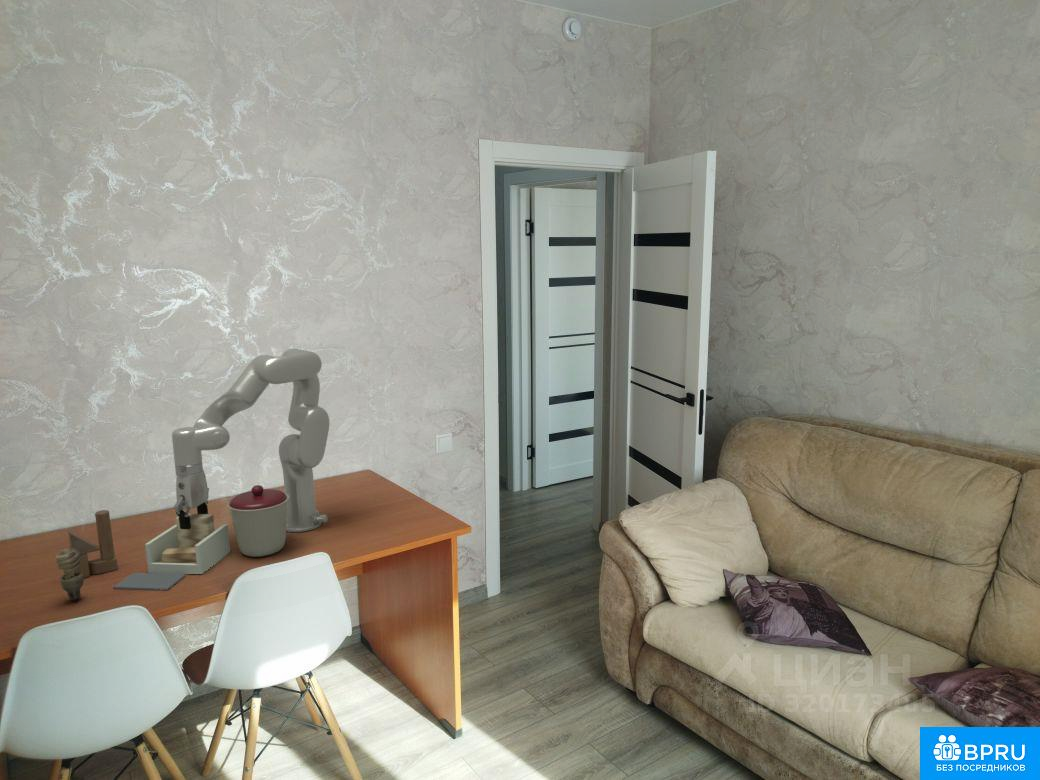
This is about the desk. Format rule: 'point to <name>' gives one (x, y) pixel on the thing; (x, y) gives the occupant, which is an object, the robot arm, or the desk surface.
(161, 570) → the tray
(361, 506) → the desk surface
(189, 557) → the oak offcut
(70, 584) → the light bulb
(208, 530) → the birch block
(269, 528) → the canister
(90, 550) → the brown wooden angled piece
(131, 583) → the slate pad
